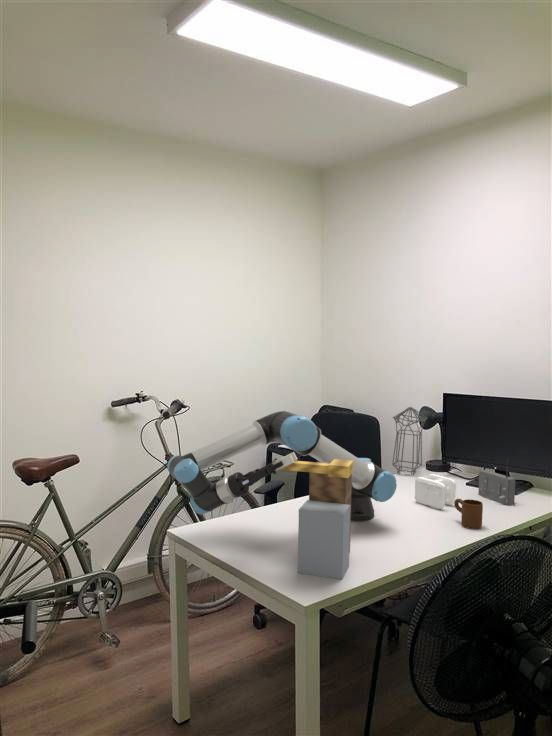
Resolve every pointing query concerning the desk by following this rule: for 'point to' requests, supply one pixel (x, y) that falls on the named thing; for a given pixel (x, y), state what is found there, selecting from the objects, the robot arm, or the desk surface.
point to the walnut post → (330, 489)
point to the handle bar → (323, 467)
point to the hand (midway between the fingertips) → (293, 457)
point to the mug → (470, 513)
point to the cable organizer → (435, 491)
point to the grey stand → (323, 539)
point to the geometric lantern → (408, 434)
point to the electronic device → (497, 486)
